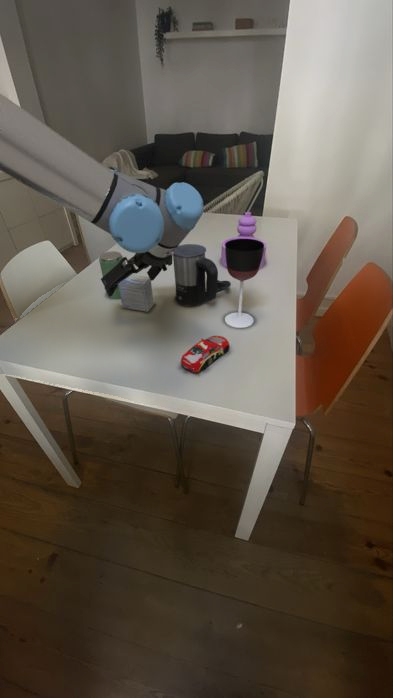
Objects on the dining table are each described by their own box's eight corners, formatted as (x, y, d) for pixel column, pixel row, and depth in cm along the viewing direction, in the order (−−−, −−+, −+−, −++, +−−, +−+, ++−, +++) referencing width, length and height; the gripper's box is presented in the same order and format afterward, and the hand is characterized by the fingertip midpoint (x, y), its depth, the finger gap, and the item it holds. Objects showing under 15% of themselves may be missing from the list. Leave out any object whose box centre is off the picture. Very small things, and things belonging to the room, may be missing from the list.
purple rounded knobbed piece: (263, 272, 106) (268, 232, 98) (218, 269, 109) (219, 230, 101) (265, 245, 126) (269, 210, 118) (226, 243, 128) (228, 209, 120)
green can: (104, 298, 94) (95, 259, 87) (109, 288, 99) (102, 250, 92) (126, 298, 94) (119, 259, 86) (130, 288, 99) (124, 250, 92)
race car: (215, 339, 77) (216, 325, 75) (233, 348, 74) (234, 334, 72) (176, 366, 69) (175, 351, 67) (194, 377, 67) (194, 362, 64)
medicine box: (154, 305, 91) (151, 277, 85) (147, 312, 87) (143, 284, 82) (130, 300, 93) (125, 273, 87) (122, 308, 89) (117, 280, 84)
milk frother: (169, 303, 91) (165, 252, 82) (193, 280, 102) (191, 234, 93) (214, 313, 86) (215, 261, 77) (234, 288, 97) (237, 240, 88)
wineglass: (257, 328, 80) (266, 251, 68) (223, 328, 81) (226, 251, 68) (253, 311, 87) (261, 238, 74) (221, 312, 87) (224, 238, 75)
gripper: (116, 275, 63) (95, 311, 81) (207, 244, 76) (171, 281, 94) (97, 242, 63) (81, 286, 81) (192, 216, 76) (159, 259, 94)
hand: (129, 283), depth 87 cm, fingers open, 13 cm apart
